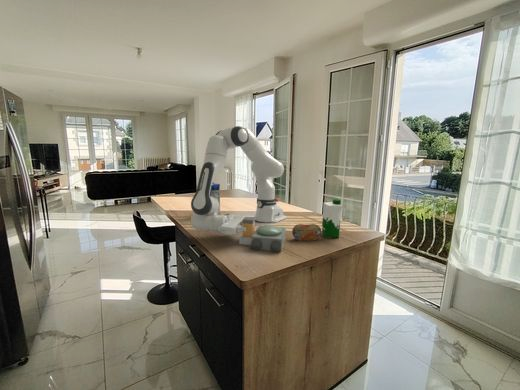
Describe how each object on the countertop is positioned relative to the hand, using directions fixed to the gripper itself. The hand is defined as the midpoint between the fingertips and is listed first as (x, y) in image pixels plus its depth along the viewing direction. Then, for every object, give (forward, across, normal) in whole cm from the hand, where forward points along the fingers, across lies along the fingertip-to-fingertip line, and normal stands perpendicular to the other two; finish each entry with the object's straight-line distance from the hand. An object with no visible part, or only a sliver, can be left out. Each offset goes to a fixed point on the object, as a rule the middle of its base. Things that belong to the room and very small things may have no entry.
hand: (248, 226), depth 129 cm
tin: (+28, +11, +8) cm, 31 cm away
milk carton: (+41, +20, +8) cm, 46 cm away
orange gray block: (0, 0, +8) cm, 8 cm away
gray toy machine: (+7, 0, +8) cm, 11 cm away
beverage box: (-36, +41, +8) cm, 55 cm away
